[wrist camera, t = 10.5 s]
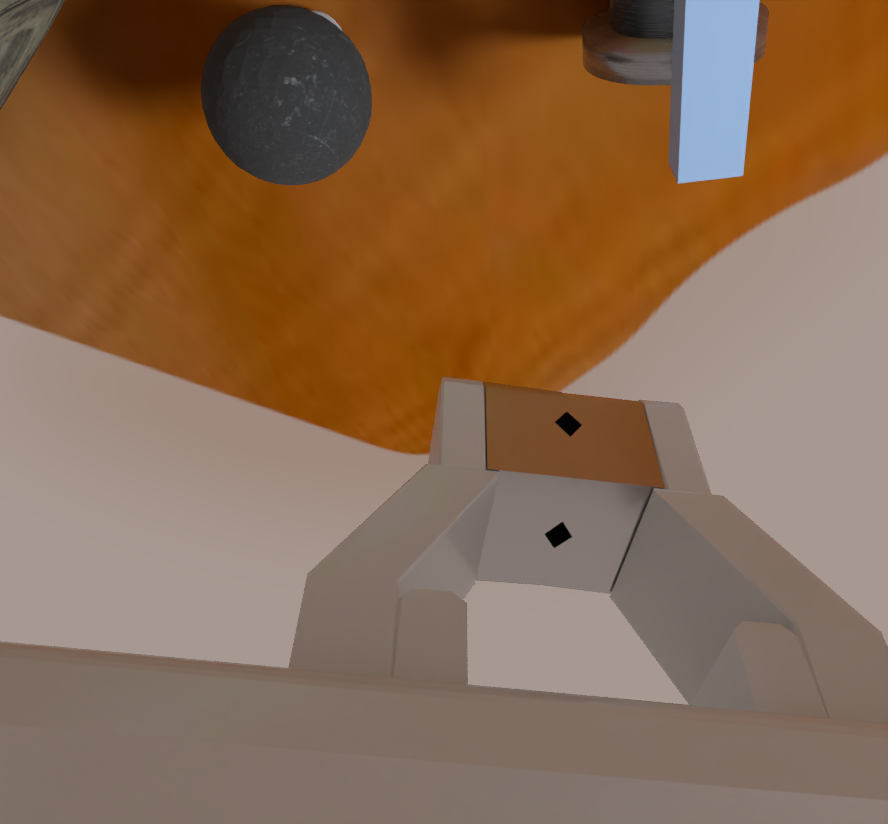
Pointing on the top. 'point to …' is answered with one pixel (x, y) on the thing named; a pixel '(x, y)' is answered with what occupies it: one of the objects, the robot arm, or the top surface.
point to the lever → (711, 87)
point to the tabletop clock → (22, 37)
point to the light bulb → (286, 94)
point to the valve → (640, 41)
